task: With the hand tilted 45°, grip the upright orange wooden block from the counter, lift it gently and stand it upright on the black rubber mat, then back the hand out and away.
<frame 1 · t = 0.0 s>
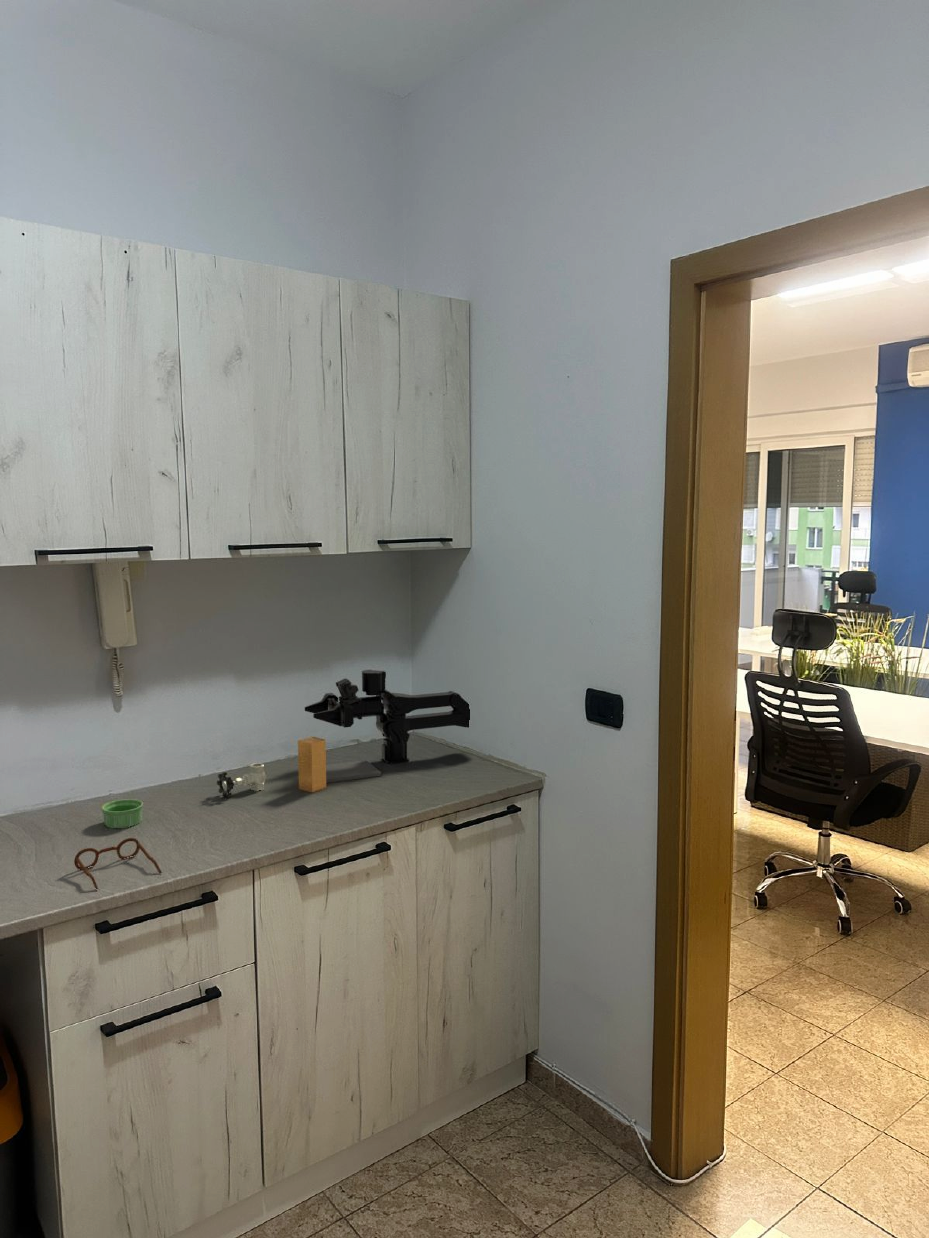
hand: (309, 712, 247), 17 cm above the countertop, tool horizontal, fingers open, 9 cm apart
valve: (244, 793, 230), on the countertop
ramekin: (123, 824, 208), on the countertop
wooden block: (312, 788, 233), on the countertop
rubber mat: (345, 772, 247), on the countertop
glasses: (118, 875, 179), on the countertop
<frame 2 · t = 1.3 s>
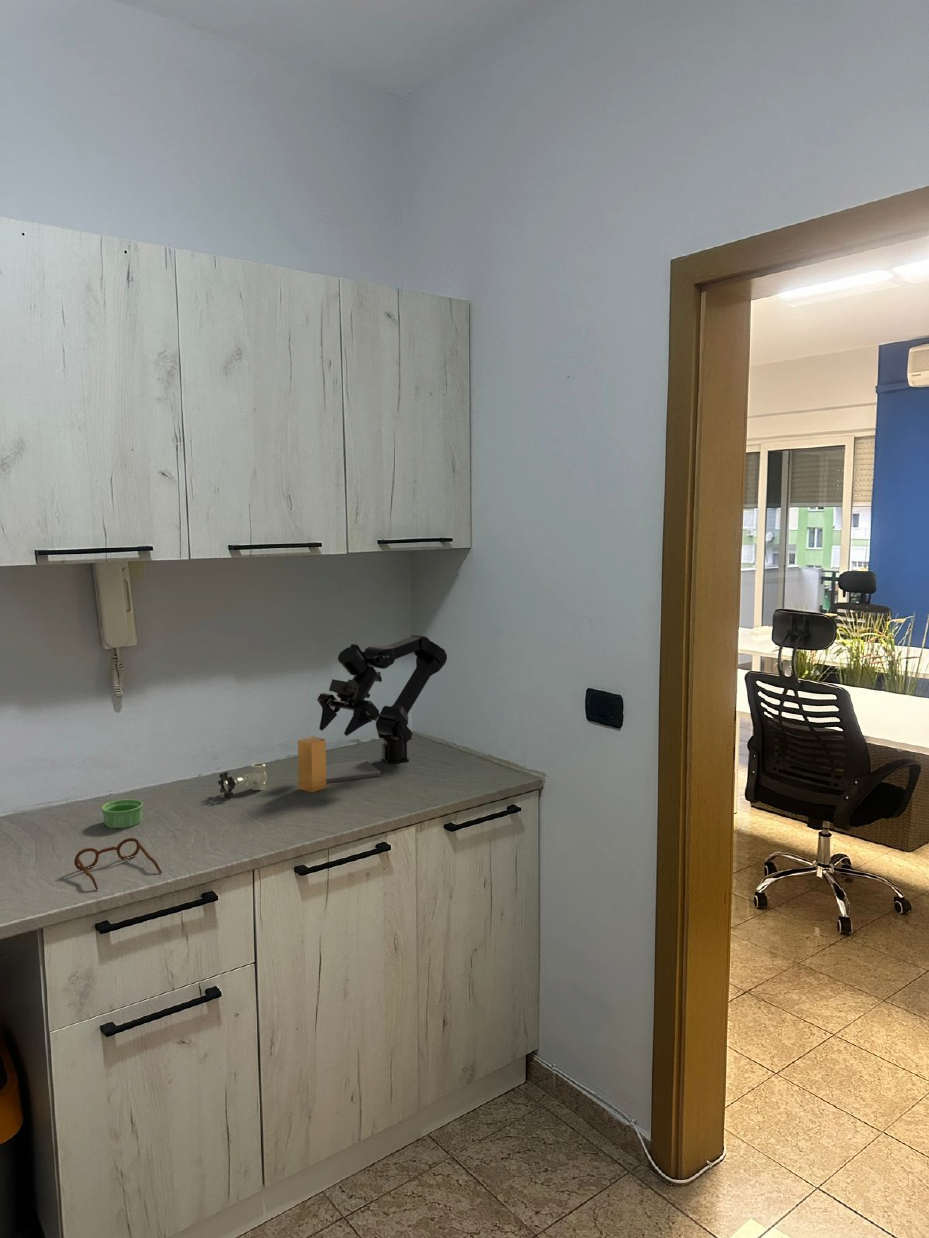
hand: (332, 732, 238), 13 cm above the countertop, tool tilted 45°, fingers open, 9 cm apart
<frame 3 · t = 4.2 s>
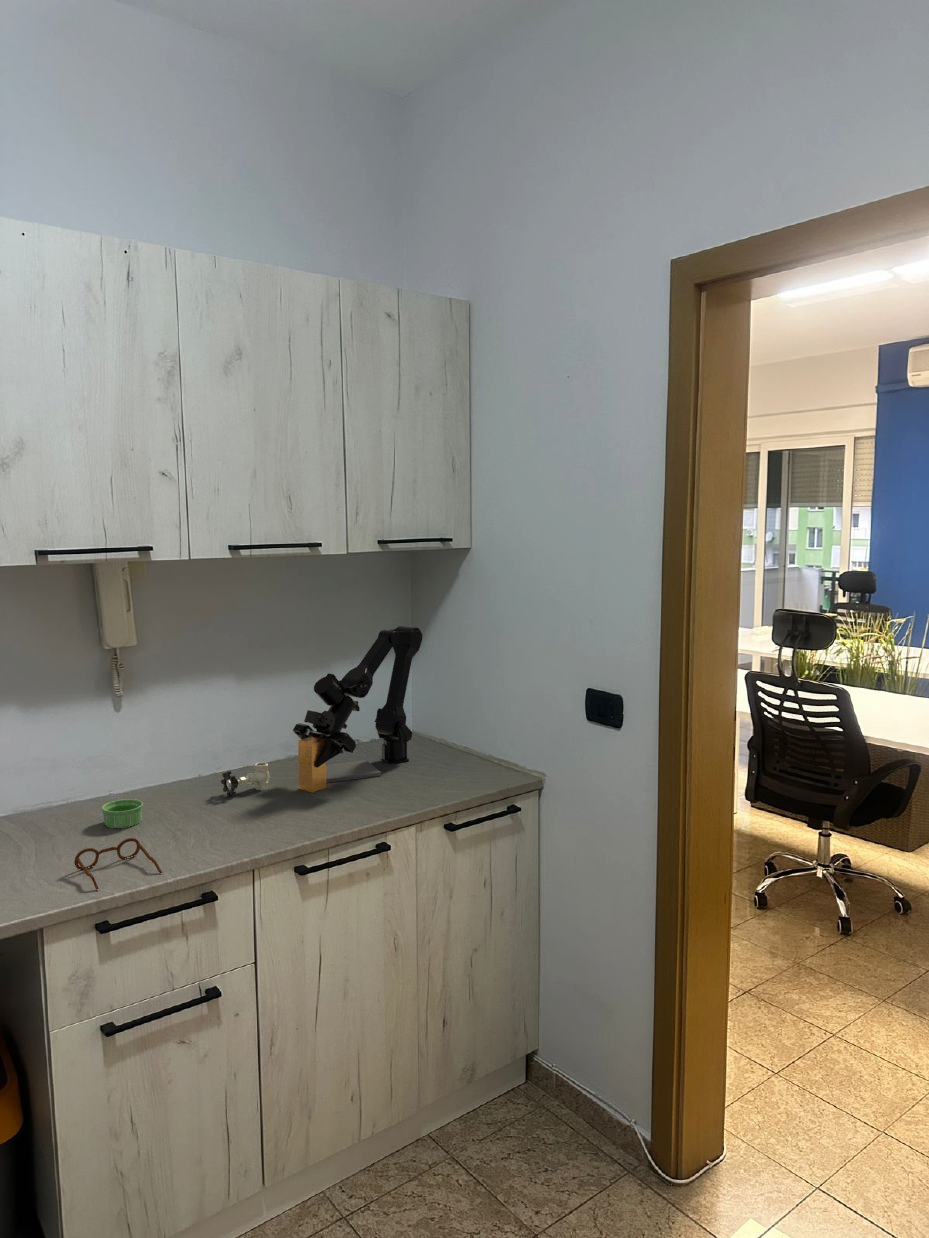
hand: (308, 764, 231), 7 cm above the countertop, tool tilted 45°, fingers closed on wooden block, 5 cm apart
wooden block: (312, 788, 233), on the countertop, touching gripper
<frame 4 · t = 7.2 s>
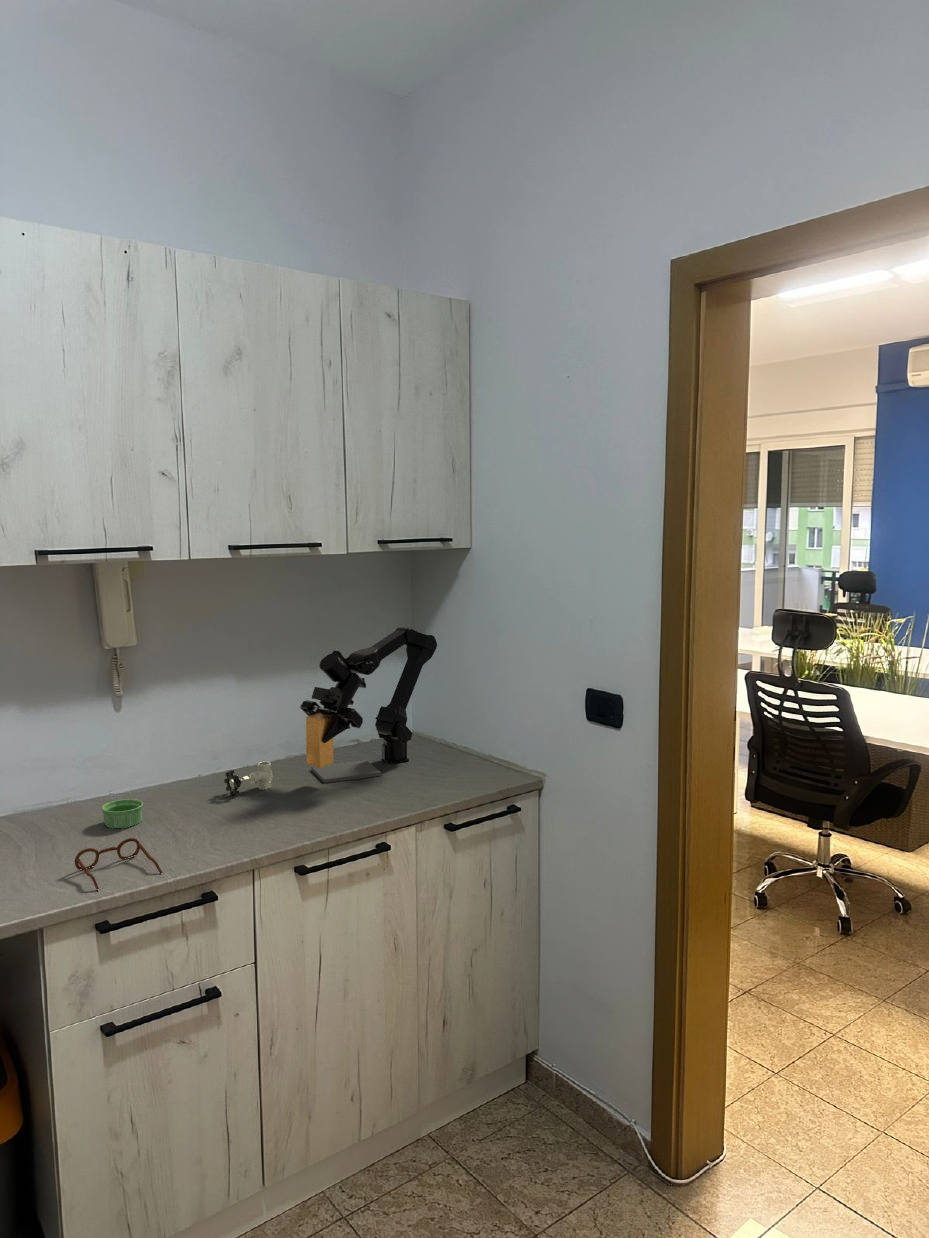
hand: (316, 740, 234), 12 cm above the countertop, tool tilted 45°, fingers closed on wooden block, 5 cm apart
wooden block: (320, 763, 237), point 5 cm above the countertop, touching gripper
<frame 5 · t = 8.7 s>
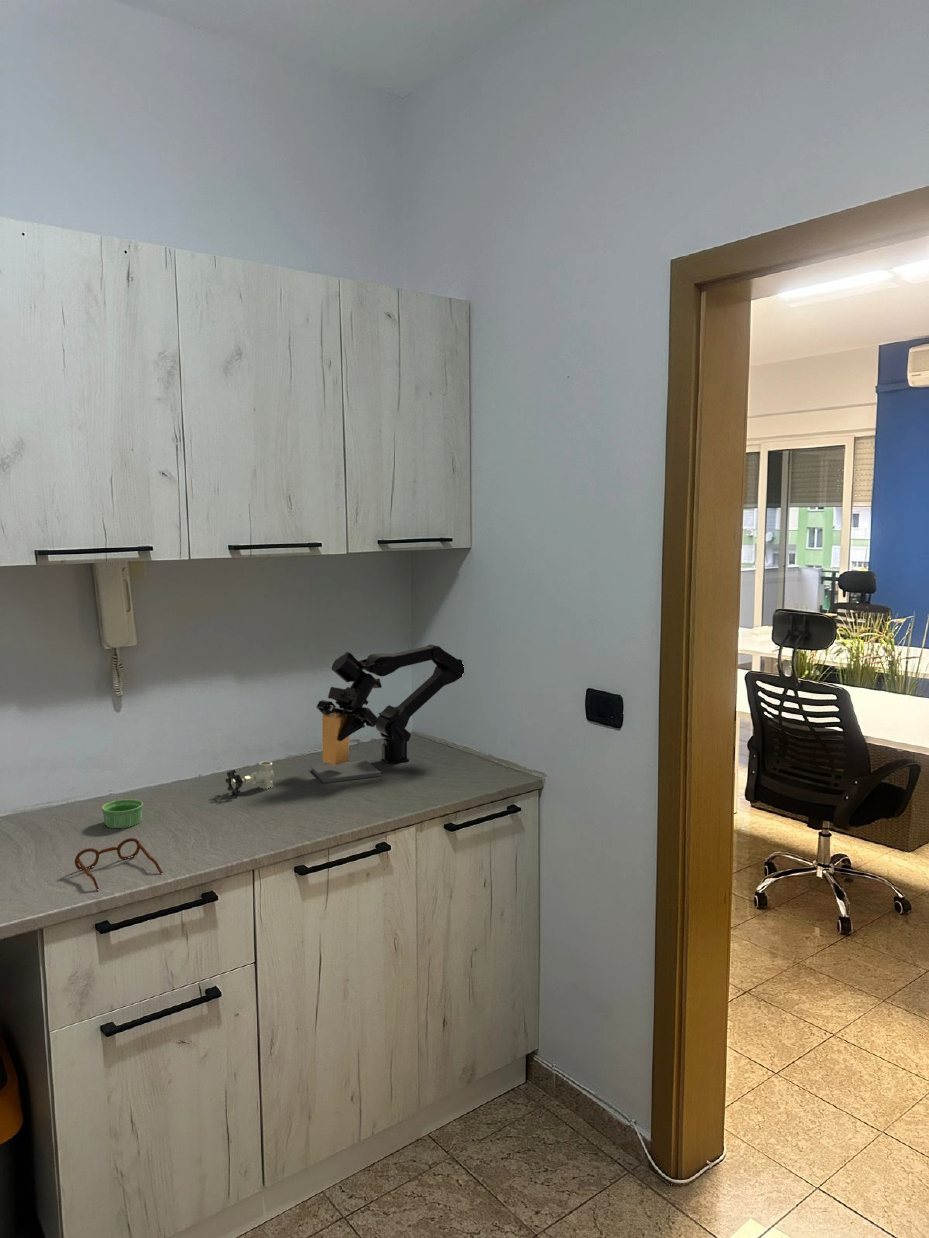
hand: (331, 738, 243), 10 cm above the countertop, tool tilted 45°, fingers closed on wooden block, 5 cm apart
wooden block: (335, 761, 245), point 4 cm above the countertop, touching gripper
when the fingers open (8 cm above the countertop, at t = 9.9 s): wooden block stays where it is, resting on rubber mat.
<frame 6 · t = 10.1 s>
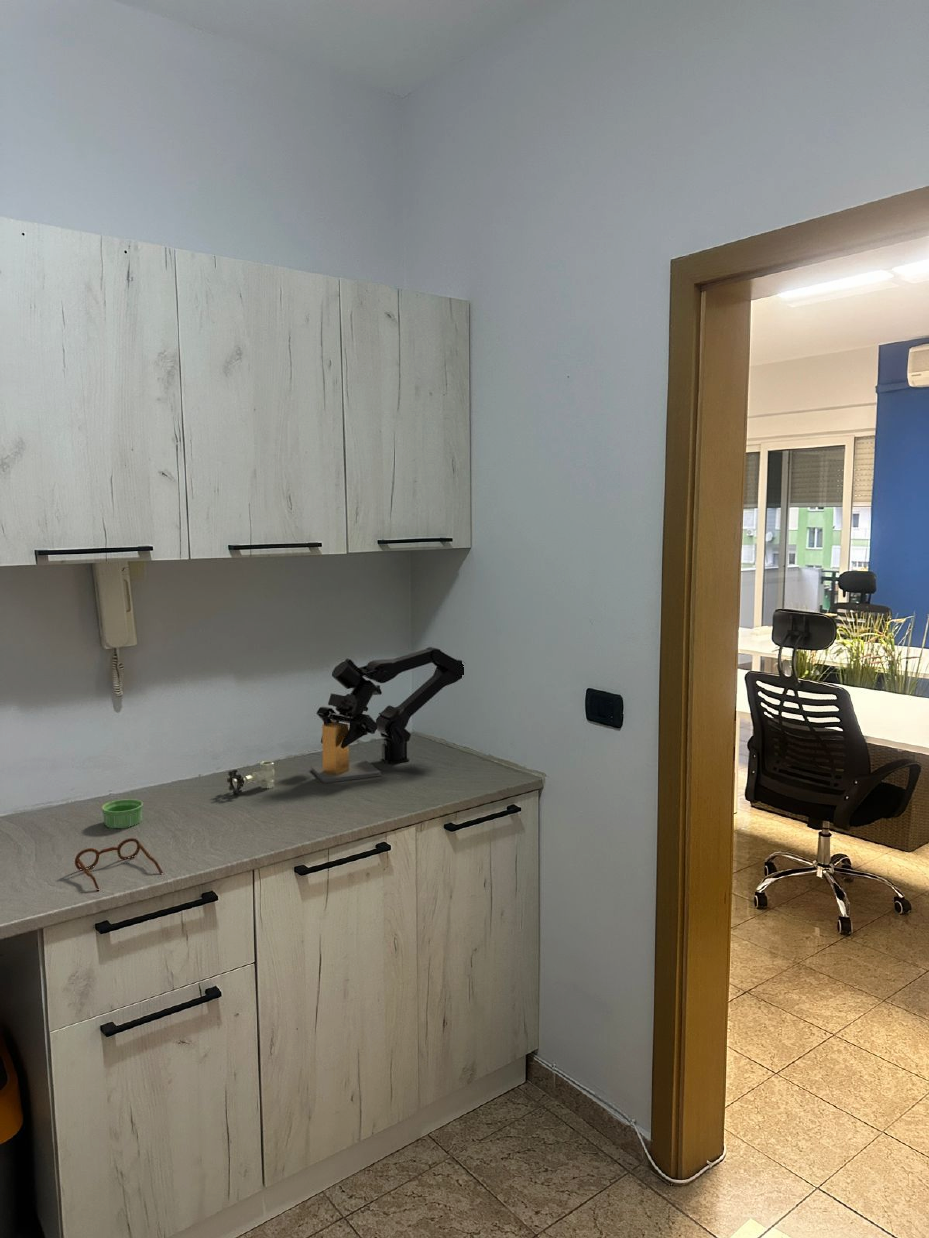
hand: (331, 745, 243), 9 cm above the countertop, tool tilted 45°, fingers open, 7 cm apart
wooden block: (335, 771, 245), point 1 cm above the countertop, touching rubber mat
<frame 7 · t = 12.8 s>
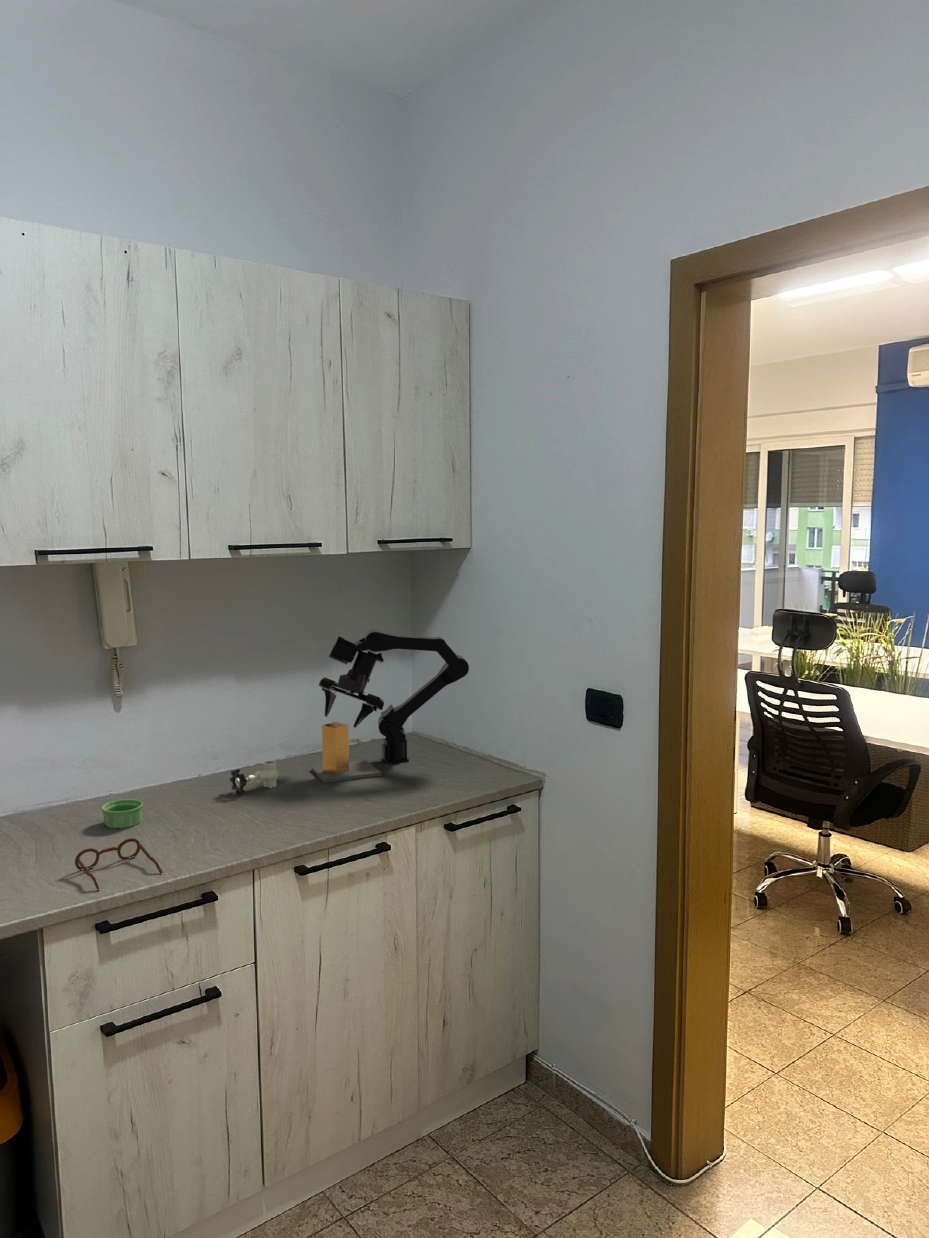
hand: (339, 721, 251), 13 cm above the countertop, tool tilted 30°, fingers open, 9 cm apart
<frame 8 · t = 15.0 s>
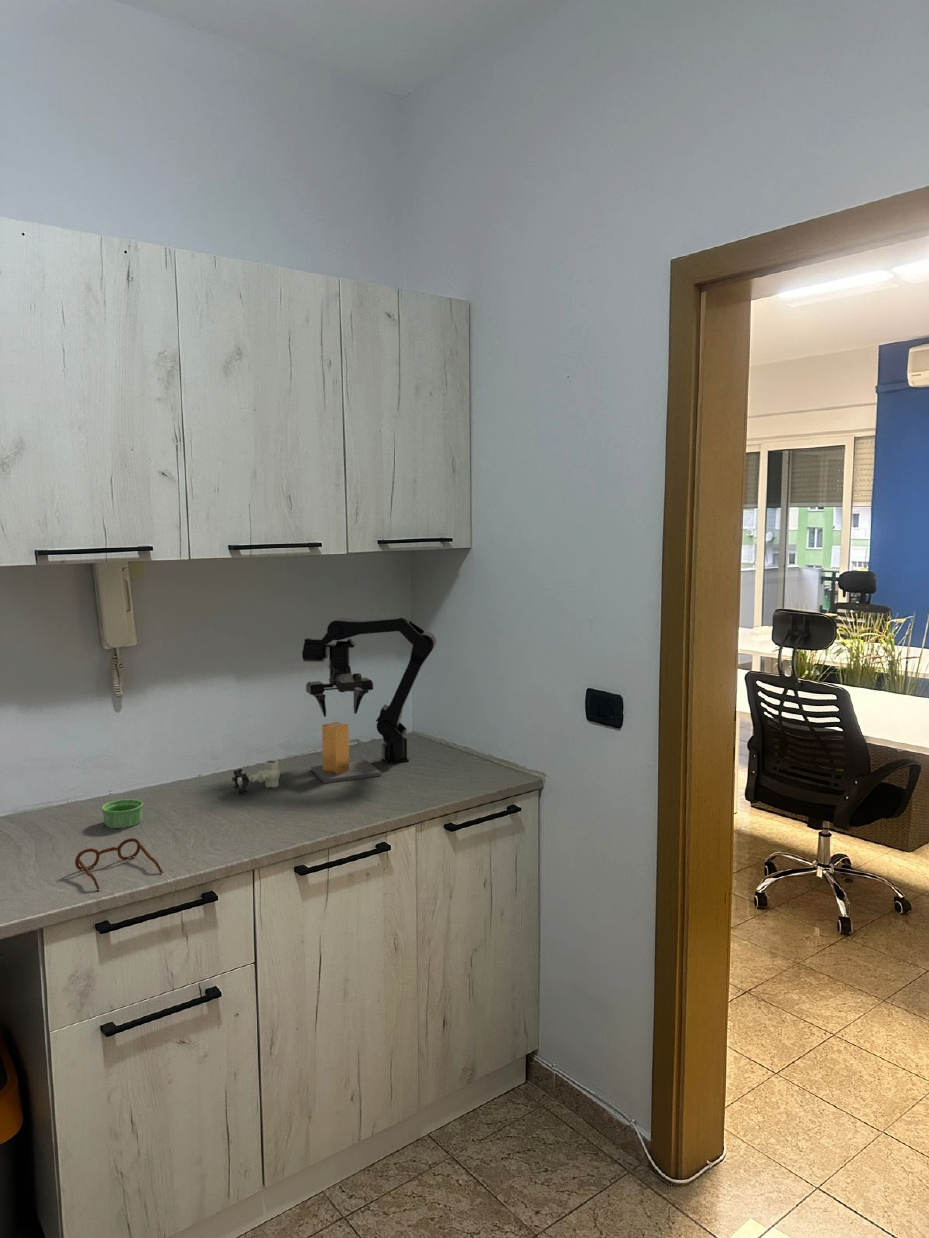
hand: (340, 714, 260), 13 cm above the countertop, tool pointing down, fingers open, 9 cm apart
at the end: wooden block inside the target area (1.4 cm from its centre), point 1.0 cm above the countertop; wooden block tilted 0°; the gripper is holding nothing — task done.
